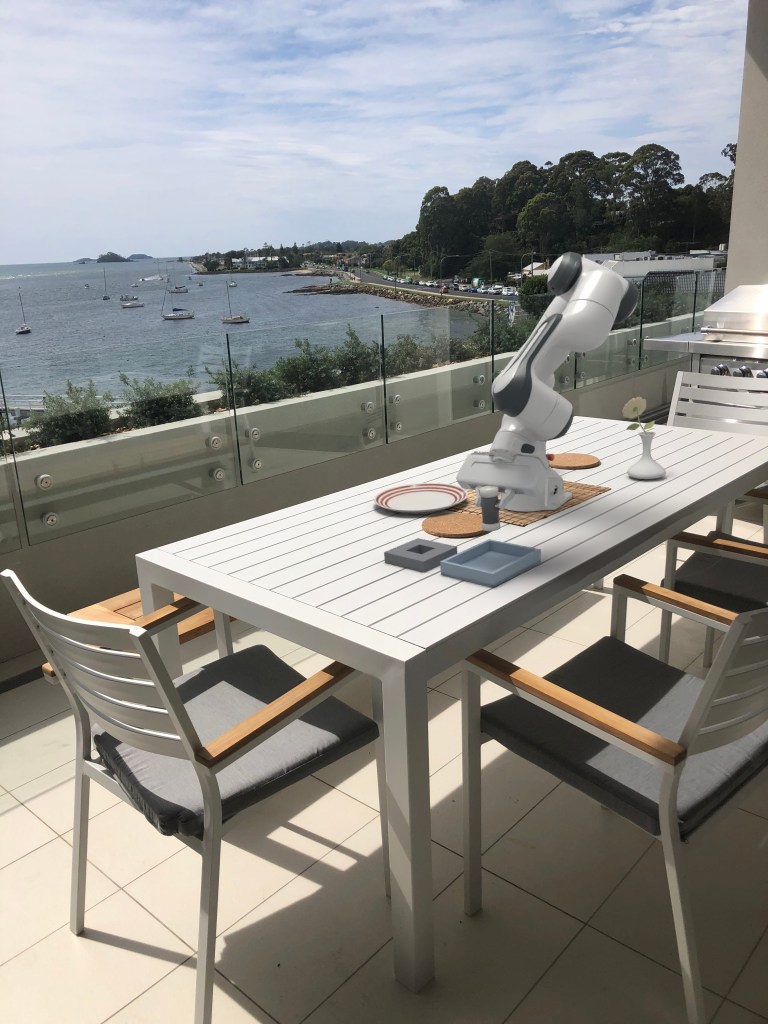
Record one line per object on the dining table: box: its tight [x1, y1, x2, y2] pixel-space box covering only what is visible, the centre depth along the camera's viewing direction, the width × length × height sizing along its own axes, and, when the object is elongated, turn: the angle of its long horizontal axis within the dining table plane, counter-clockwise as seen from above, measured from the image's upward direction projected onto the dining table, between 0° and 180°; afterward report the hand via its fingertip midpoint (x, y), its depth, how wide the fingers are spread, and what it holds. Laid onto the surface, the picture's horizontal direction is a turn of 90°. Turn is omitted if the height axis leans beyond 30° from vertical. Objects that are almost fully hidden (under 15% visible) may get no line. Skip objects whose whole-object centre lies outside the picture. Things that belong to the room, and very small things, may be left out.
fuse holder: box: [383, 537, 458, 573], centre depth 176 cm, size 12×12×2 cm
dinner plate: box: [373, 482, 469, 515], centre depth 221 cm, size 28×27×3 cm
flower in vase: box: [621, 396, 667, 480], centre depth 229 cm, size 13×11×25 cm
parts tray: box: [439, 538, 542, 589], centre depth 167 cm, size 18×14×3 cm
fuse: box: [479, 486, 502, 532], centre depth 163 cm, size 4×4×9 cm
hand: (488, 507), depth 163 cm, fingers closed on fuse, 4 cm apart
